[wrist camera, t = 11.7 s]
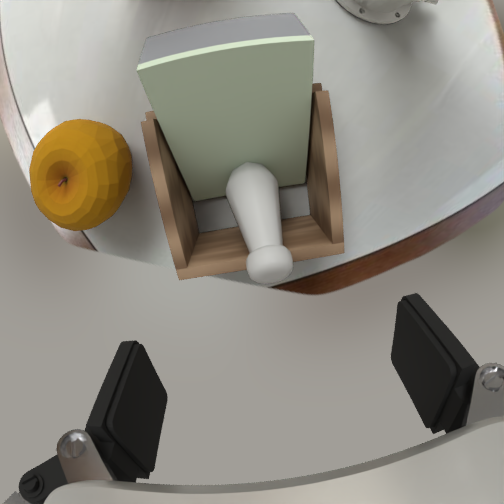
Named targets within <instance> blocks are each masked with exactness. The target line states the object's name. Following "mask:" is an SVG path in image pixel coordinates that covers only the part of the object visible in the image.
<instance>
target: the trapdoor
mask: <svg viewBox="0 0 504 504" xmlns="http://www.w3.org/2000/svg"><path fill="white" fill-rule="evenodd" d="M313 61H314V39H313V38H312V36H311V35H310V33H309V32H308V31H307V29H306V28H305V27H304V25H303V24H302V23H301V21H300V20H299V19H298V17H297V16H296V15H295V13H282V14H269V15H258V16H250V17H242V18H234V19H228V20H222V21H216V22H210V23H205V24H200V25H195V26H191V27H186V28H182V29H178V30H174V31H170V32H166V33H162V34H159V35H155V36H152V37H148V38H146V41H145V44H144V47H143V50H142V54H141V57H140V60H139V64H138V67H137V73H138V75H139V78H140V80H141V82H142V85H143V87H144V89H145V92H146V94H147V97H148V99H149V101H150V104H151V106H152V108H153V110H154V113H155V115H156V117H157V120H158V122H159V124H160V127H161V129H162V131H163V133H164V136H165V138H166V140H167V142H168V145H169V147H170V149H171V151H172V154H173V156H174V158H175V160H176V163H177V165H178V167H179V169H180V171H181V174H182V176H183V178H184V180H185V182H186V185H187V187H188V189H189V191H190V193H191V195H192V198H193V200H194V201H199V200H204V199H209V198H215V197H220V196H226V187H227V184H228V181H229V178H230V176H231V173H232V171H233V170H234V169H235V168H237V167H239V166H240V165H242V164H244V163H245V162H251V163H259V164H262V165H264V166H265V167H266V168H267V169H268V170H269V171H270V172H271V173H272V174H273V175H274V176H275V177H276V179H277V181H278V187H281V186H287V185H294V184H301V183H305V175H306V164H307V153H308V140H309V127H310V113H311V98H312V81H313Z"/></svg>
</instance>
